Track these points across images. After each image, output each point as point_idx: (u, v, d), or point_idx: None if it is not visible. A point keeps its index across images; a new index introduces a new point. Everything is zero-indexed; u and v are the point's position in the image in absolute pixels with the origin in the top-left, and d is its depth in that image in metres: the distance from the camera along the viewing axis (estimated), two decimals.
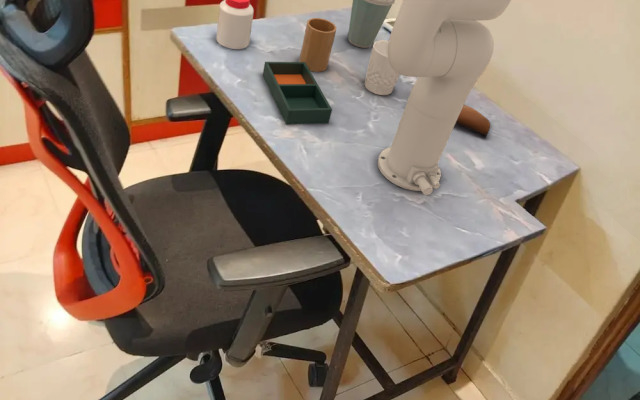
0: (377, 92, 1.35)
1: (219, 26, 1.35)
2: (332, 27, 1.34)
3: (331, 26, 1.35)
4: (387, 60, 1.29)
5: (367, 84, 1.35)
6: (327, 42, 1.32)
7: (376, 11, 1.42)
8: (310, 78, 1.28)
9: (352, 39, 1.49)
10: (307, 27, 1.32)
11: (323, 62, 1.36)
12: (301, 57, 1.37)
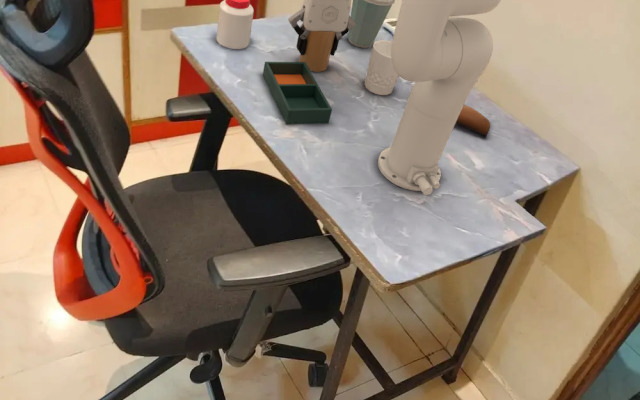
0: (377, 92, 1.35)
1: (219, 26, 1.35)
2: None
3: None
4: (387, 60, 1.29)
5: (367, 84, 1.35)
6: (327, 42, 1.32)
7: (376, 11, 1.42)
8: (310, 78, 1.28)
9: (352, 39, 1.49)
10: None
11: (323, 62, 1.36)
12: (301, 57, 1.37)
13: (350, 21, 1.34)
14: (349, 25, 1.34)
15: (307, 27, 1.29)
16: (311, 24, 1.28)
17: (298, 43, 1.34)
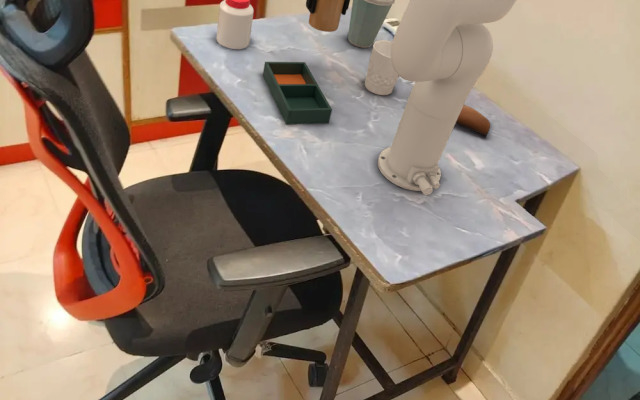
0: (377, 92, 1.35)
1: (219, 26, 1.35)
2: None
3: None
4: (387, 60, 1.29)
5: (367, 84, 1.35)
6: None
7: (376, 11, 1.42)
8: (310, 78, 1.28)
9: (352, 39, 1.49)
10: None
11: (334, 21, 1.29)
12: (310, 17, 1.30)
13: None
14: None
15: None
16: None
17: (308, 1, 1.27)
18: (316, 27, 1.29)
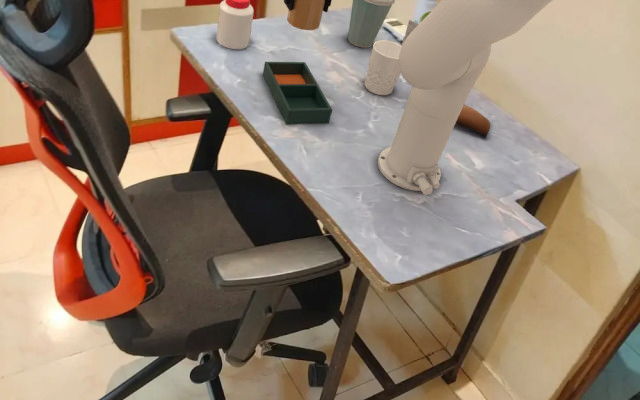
0: (377, 92, 1.35)
1: (219, 26, 1.35)
2: None
3: None
4: (387, 60, 1.29)
5: (367, 84, 1.35)
6: None
7: (376, 11, 1.42)
8: (310, 78, 1.28)
9: (352, 39, 1.49)
10: None
11: (315, 19, 1.17)
12: (289, 13, 1.18)
13: None
14: None
15: None
16: None
17: None
18: (295, 25, 1.18)
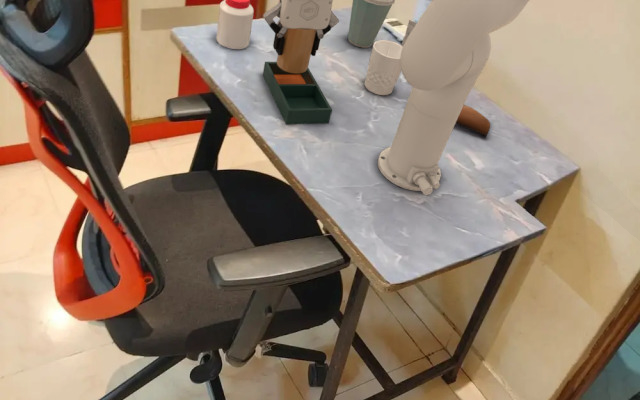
0: (377, 92, 1.35)
1: (219, 26, 1.35)
2: None
3: None
4: (387, 60, 1.29)
5: (367, 84, 1.35)
6: (307, 41, 1.19)
7: (376, 11, 1.42)
8: (310, 78, 1.28)
9: (352, 39, 1.49)
10: None
11: (303, 63, 1.23)
12: (278, 57, 1.24)
13: (333, 18, 1.21)
14: (331, 22, 1.21)
15: (284, 24, 1.16)
16: (288, 21, 1.15)
17: (275, 42, 1.21)
18: (284, 68, 1.23)
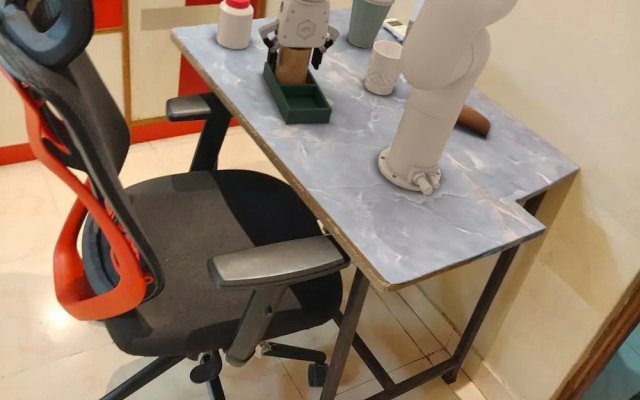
0: (377, 92, 1.35)
1: (219, 26, 1.35)
2: None
3: None
4: (387, 60, 1.29)
5: (367, 84, 1.35)
6: (302, 61, 1.22)
7: (376, 11, 1.42)
8: (310, 78, 1.28)
9: (352, 39, 1.49)
10: None
11: (299, 82, 1.26)
12: (275, 77, 1.27)
13: (332, 32, 1.23)
14: (333, 36, 1.23)
15: (281, 43, 1.18)
16: (286, 40, 1.18)
17: (268, 57, 1.22)
18: None
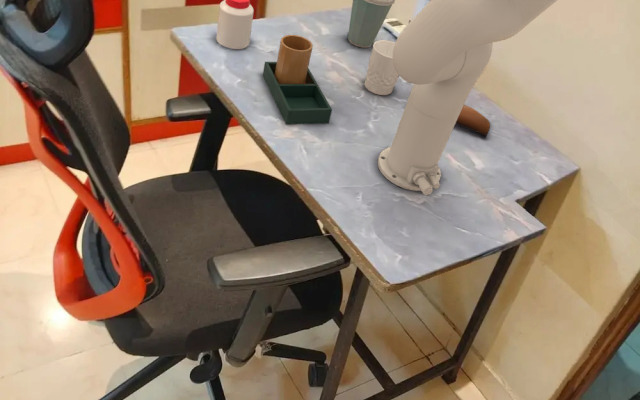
0: (377, 92, 1.35)
1: (219, 26, 1.35)
2: (308, 45, 1.24)
3: (307, 44, 1.25)
4: (387, 60, 1.29)
5: (367, 84, 1.35)
6: (302, 61, 1.22)
7: (376, 11, 1.42)
8: (310, 78, 1.28)
9: (352, 39, 1.49)
10: (281, 45, 1.22)
11: (299, 82, 1.26)
12: (275, 77, 1.27)
13: None
14: None
15: None
16: None
17: None
18: None
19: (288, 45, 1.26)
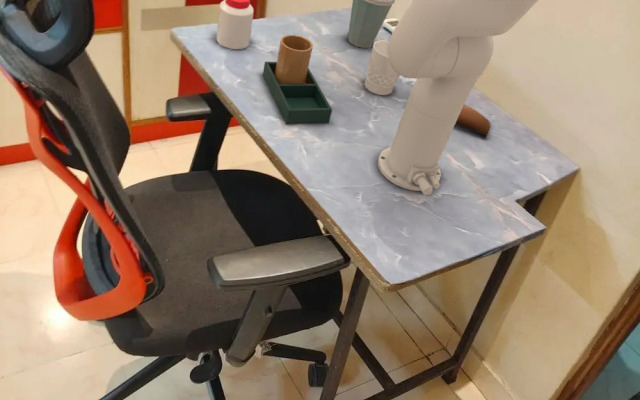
0: (377, 92, 1.35)
1: (219, 26, 1.35)
2: (308, 45, 1.24)
3: (307, 44, 1.25)
4: (387, 60, 1.29)
5: (367, 84, 1.35)
6: (302, 61, 1.22)
7: (376, 11, 1.42)
8: (310, 78, 1.28)
9: (352, 39, 1.49)
10: (281, 45, 1.22)
11: (299, 82, 1.26)
12: (275, 77, 1.27)
13: None
14: None
15: None
16: None
17: None
18: None
19: (288, 45, 1.26)
